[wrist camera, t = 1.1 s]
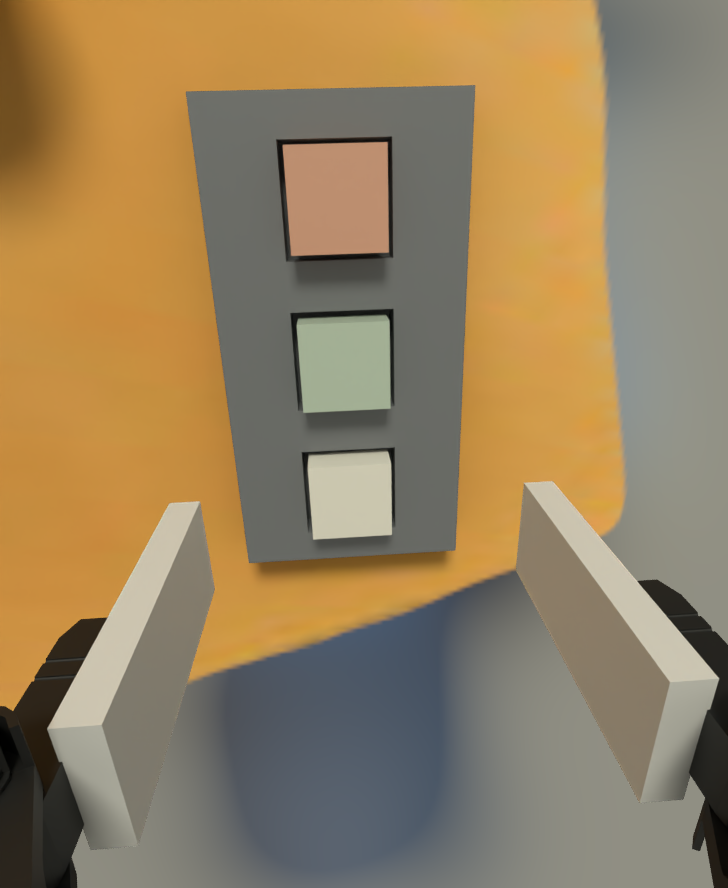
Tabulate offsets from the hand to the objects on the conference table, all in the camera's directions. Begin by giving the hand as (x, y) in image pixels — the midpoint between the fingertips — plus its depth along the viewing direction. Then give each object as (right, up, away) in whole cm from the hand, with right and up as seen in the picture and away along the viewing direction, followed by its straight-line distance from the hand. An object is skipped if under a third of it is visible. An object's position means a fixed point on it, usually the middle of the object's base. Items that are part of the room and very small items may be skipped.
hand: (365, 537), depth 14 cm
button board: (-1, +8, +20) cm, 21 cm away
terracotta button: (-1, +15, +15) cm, 21 cm away
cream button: (-1, 0, +21) cm, 21 cm away
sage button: (-1, +8, +18) cm, 20 cm away
